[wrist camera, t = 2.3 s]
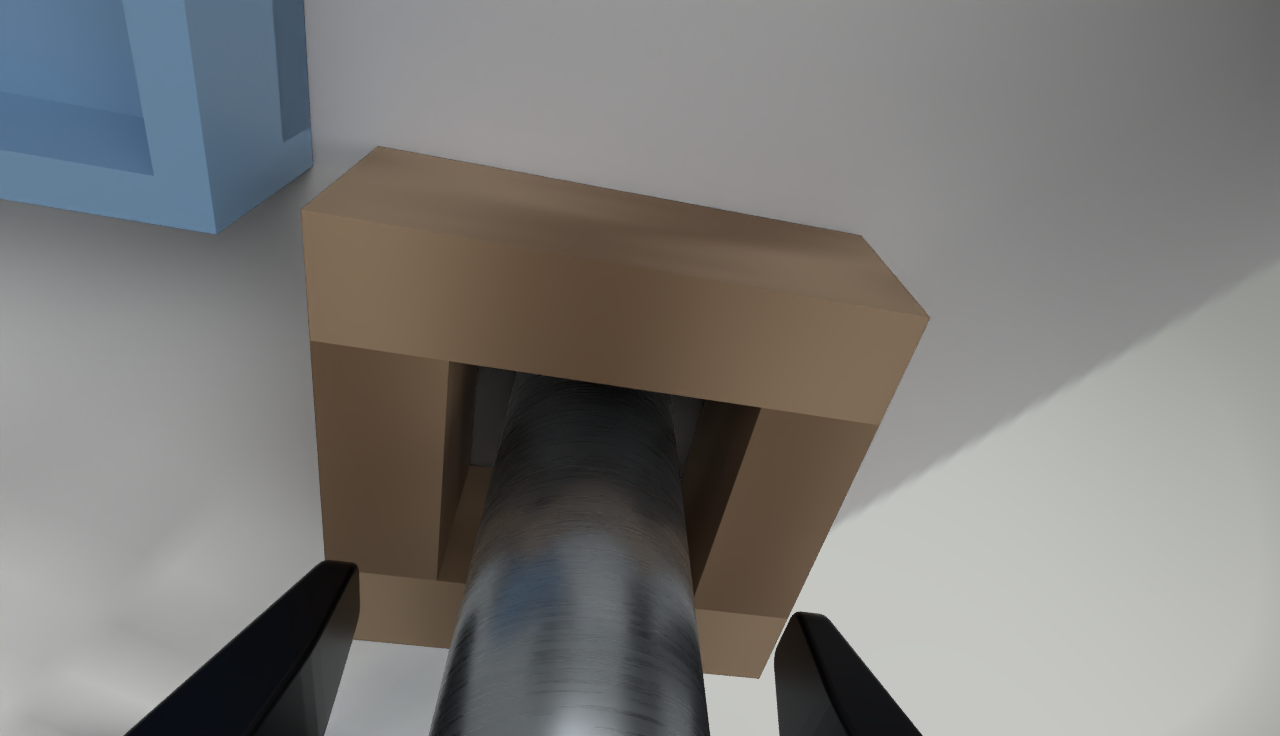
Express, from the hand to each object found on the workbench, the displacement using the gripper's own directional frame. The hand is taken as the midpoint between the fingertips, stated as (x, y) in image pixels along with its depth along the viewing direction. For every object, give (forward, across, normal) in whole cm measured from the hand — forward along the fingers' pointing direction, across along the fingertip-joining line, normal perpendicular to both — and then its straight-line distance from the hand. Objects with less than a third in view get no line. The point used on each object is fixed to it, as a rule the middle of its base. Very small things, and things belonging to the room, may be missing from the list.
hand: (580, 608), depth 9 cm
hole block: (+5, 0, 0) cm, 5 cm away
